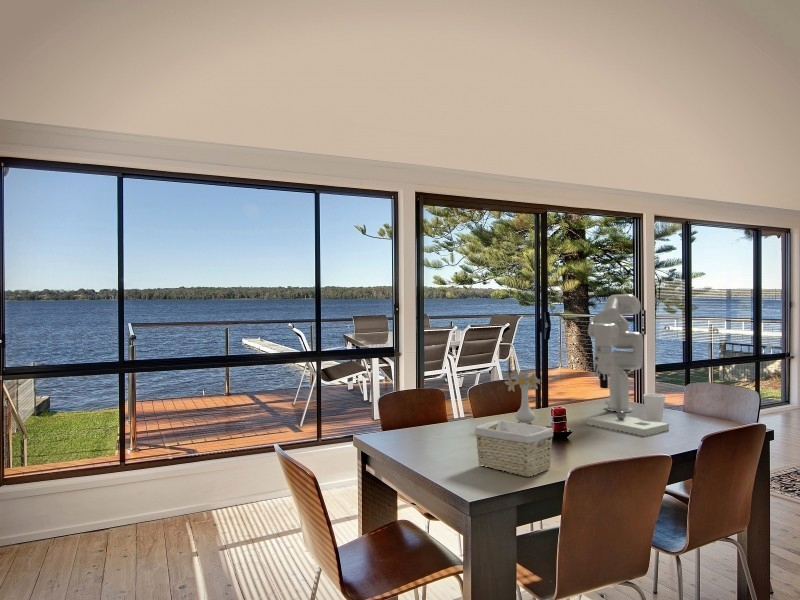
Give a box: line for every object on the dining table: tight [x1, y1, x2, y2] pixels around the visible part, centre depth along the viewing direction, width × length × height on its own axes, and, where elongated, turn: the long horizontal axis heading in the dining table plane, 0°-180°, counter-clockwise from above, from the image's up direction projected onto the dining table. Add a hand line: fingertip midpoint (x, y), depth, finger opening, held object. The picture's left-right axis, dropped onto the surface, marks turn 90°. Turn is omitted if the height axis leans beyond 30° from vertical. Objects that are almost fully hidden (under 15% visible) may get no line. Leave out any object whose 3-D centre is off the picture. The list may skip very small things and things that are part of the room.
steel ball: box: [616, 411, 627, 420], centre depth 261 cm, size 4×4×4 cm
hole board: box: [586, 413, 670, 437], centre depth 258 cm, size 30×18×3 cm, turn 33°
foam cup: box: [643, 392, 666, 423], centre depth 268 cm, size 10×9×13 cm
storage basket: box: [474, 419, 554, 478], centre depth 199 cm, size 24×16×15 cm
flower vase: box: [504, 370, 541, 424], centre depth 272 cm, size 13×18×25 cm
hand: (604, 387), depth 269 cm, fingers closed
